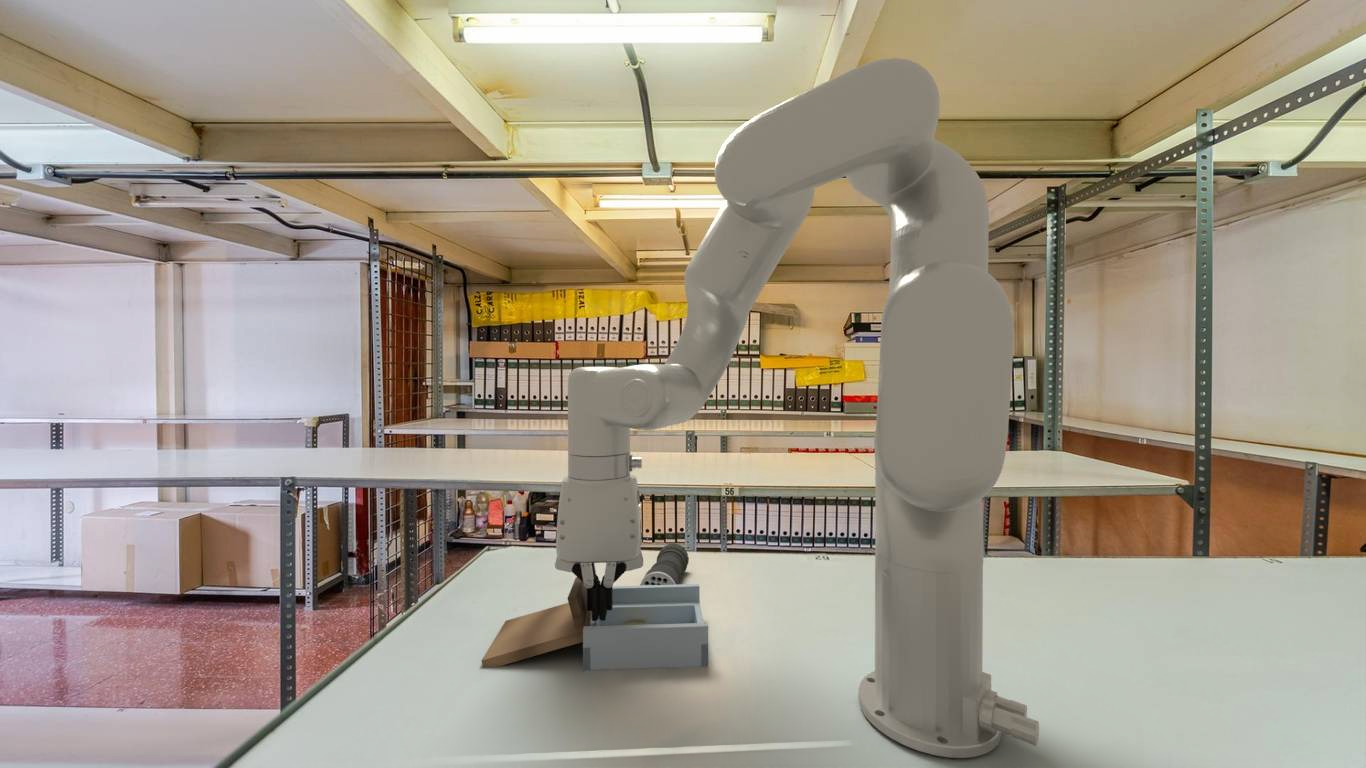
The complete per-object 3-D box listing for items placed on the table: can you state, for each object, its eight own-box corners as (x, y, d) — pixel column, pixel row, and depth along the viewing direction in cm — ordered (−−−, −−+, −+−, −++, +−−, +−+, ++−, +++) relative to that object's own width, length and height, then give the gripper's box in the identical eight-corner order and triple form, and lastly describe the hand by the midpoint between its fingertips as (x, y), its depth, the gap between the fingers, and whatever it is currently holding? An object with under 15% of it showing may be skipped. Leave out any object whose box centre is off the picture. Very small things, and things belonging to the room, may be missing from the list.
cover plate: (595, 604, 69) (586, 570, 69) (585, 640, 59) (574, 601, 59) (508, 629, 68) (498, 595, 68) (484, 670, 59) (473, 631, 59)
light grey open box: (699, 620, 71) (698, 583, 71) (708, 670, 59) (708, 626, 59) (595, 623, 70) (595, 586, 70) (583, 674, 58) (583, 629, 58)
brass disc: (652, 626, 68) (652, 620, 68) (652, 643, 64) (652, 637, 64) (618, 627, 68) (618, 621, 68) (616, 644, 63) (616, 638, 63)
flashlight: (659, 570, 90) (659, 539, 90) (690, 572, 89) (690, 540, 89) (639, 609, 74) (639, 571, 74) (676, 611, 74) (676, 573, 74)
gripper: (660, 461, 68) (660, 601, 68) (544, 462, 67) (545, 604, 67) (660, 472, 60) (661, 629, 61) (530, 473, 60) (531, 632, 60)
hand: (599, 615), depth 64 cm, fingers closed
